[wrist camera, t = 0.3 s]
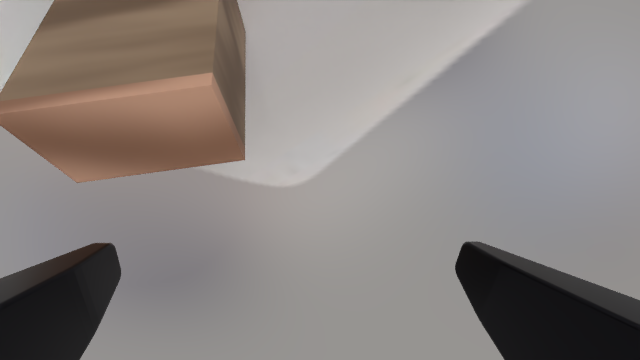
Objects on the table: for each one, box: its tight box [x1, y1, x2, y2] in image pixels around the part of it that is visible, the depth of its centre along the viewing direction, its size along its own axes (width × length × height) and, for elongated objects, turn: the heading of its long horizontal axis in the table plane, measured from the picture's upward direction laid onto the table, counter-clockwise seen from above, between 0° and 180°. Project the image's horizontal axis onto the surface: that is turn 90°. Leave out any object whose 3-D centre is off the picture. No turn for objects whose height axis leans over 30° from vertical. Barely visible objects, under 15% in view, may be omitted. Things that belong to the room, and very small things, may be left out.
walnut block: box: [0, 0, 245, 183], centre depth 14 cm, size 4×7×9 cm, turn 94°
